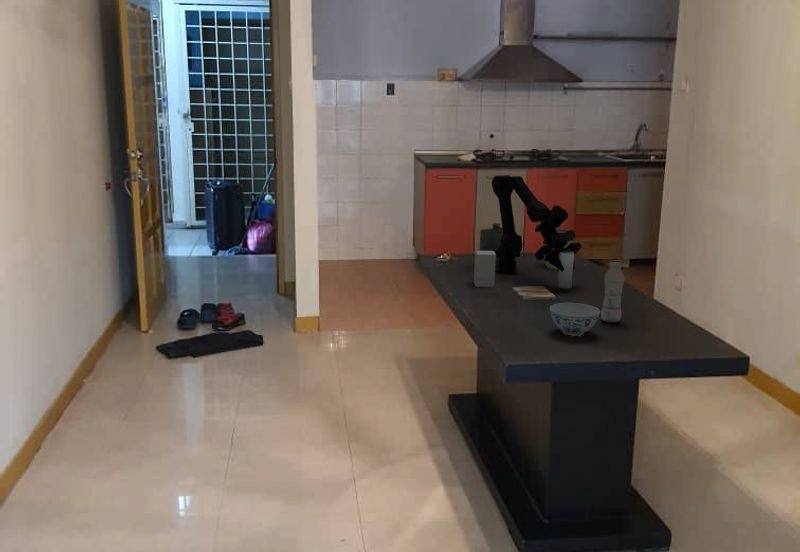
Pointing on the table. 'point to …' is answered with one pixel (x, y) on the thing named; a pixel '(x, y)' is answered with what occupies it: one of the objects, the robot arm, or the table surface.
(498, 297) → the table surface
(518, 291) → the beige flat rectangular panel
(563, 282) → the grey flared tumbler
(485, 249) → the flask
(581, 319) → the chinaware
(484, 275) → the supplement box
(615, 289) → the plastic bottle
